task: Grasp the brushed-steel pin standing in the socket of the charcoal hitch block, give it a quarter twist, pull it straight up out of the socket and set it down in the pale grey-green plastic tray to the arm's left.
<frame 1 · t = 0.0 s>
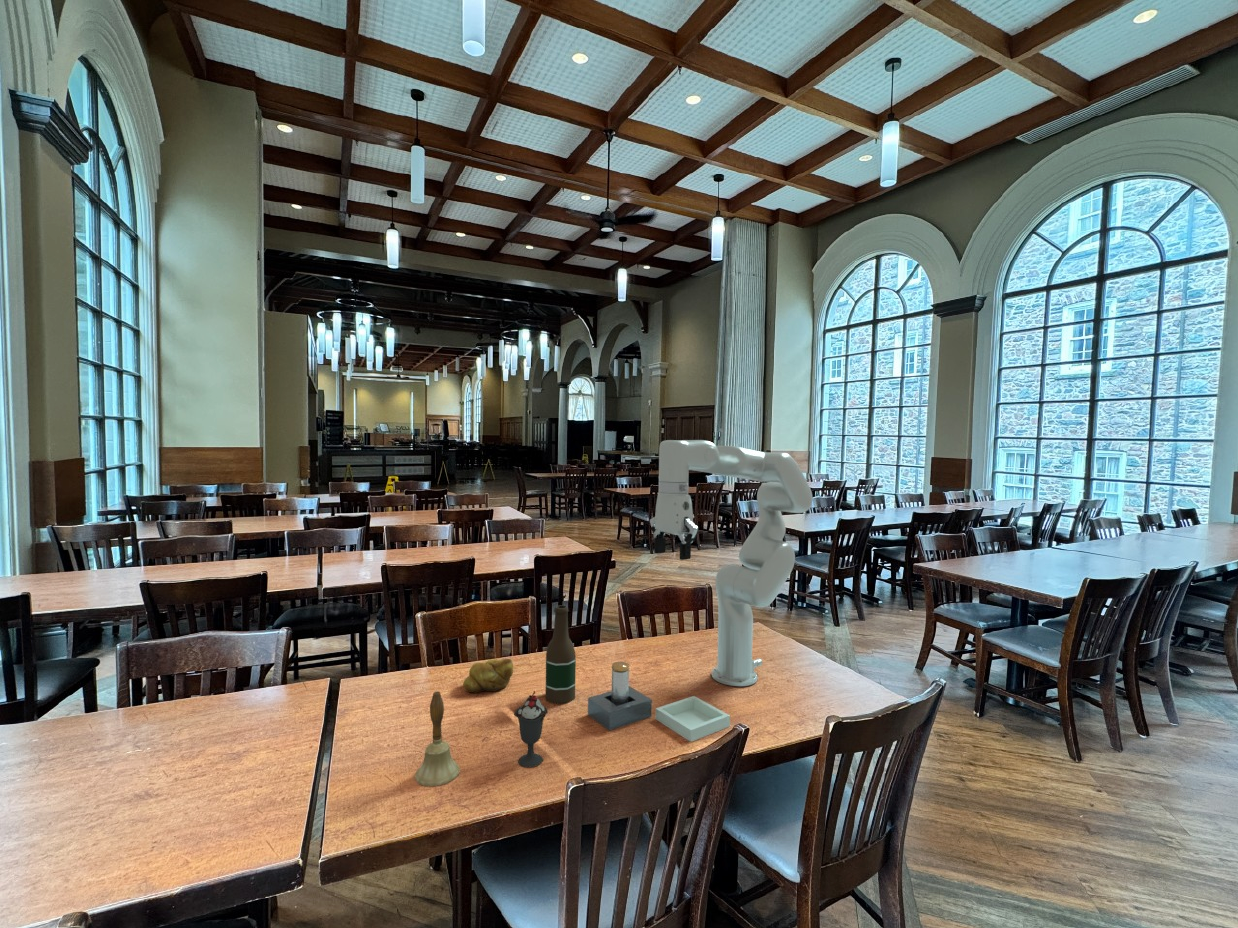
hand: (672, 555, 140), 37 cm above the table, tool pointing down, fingers open, 9 cm apart
hitch block: (619, 719, 130), on the table
tray: (692, 726, 127), on the table
beer bottle: (560, 701, 139), on the table
pin: (619, 715, 130), point 1 cm above the table, touching hitch block
hand bell: (437, 774, 107), on the table
bread roll: (487, 687, 147), on the table
sundae: (530, 761, 112), on the table
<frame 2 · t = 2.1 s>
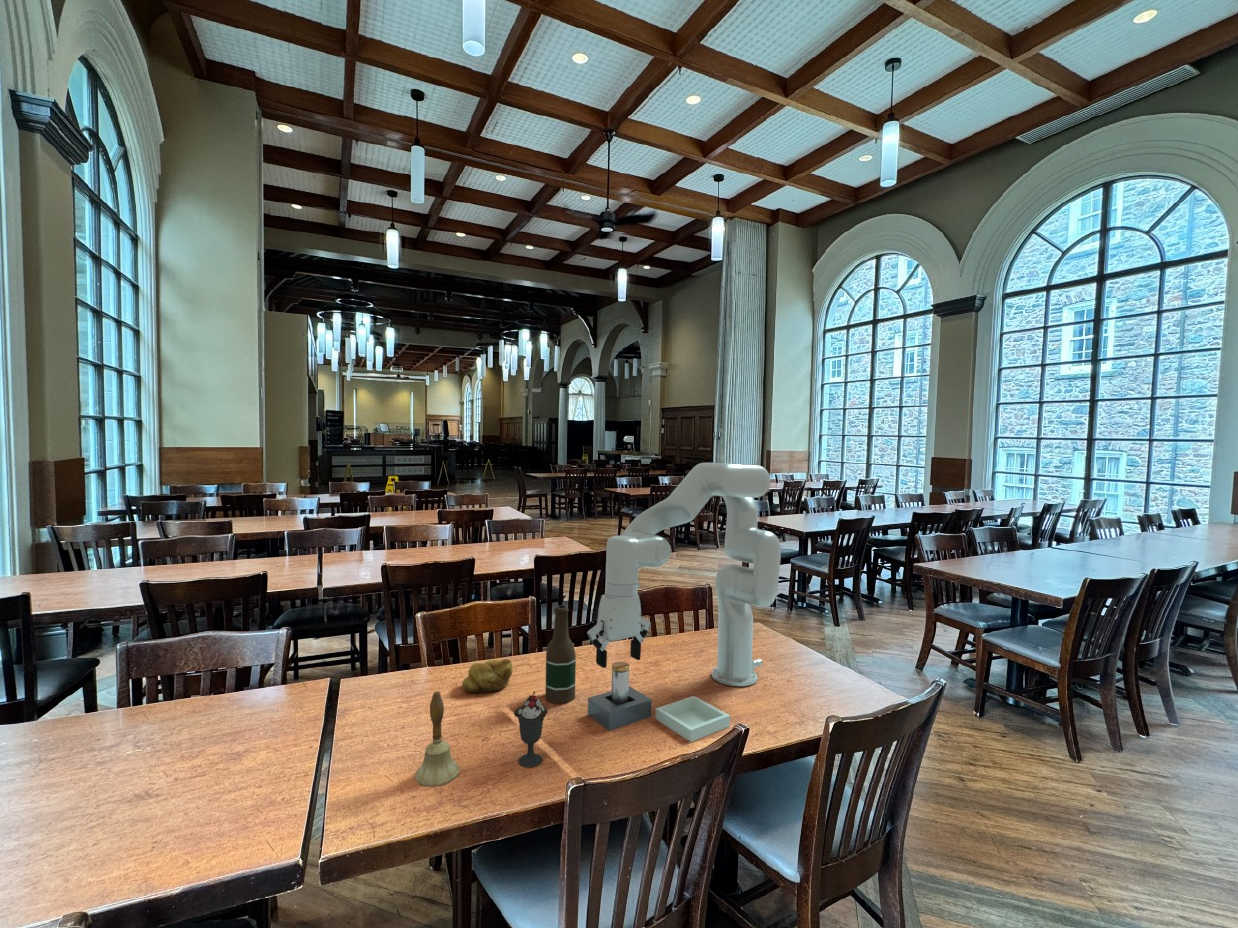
hand: (618, 661, 129), 14 cm above the table, tool pointing down, fingers open, 9 cm apart
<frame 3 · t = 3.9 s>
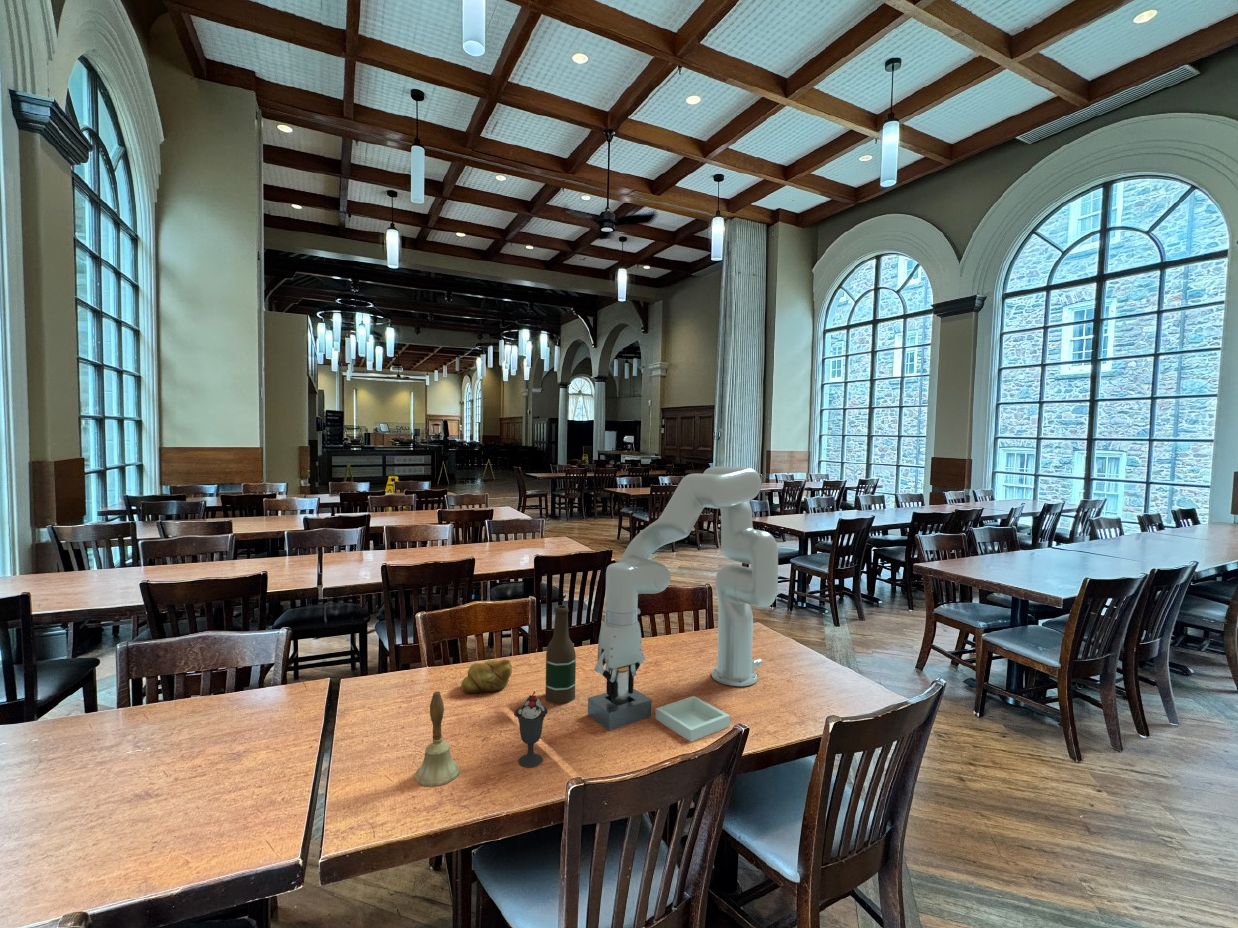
hand: (620, 693, 130), 6 cm above the table, tool pointing down, fingers closed on pin, 4 cm apart
pin: (619, 715, 130), point 1 cm above the table, touching gripper, hitch block
everything else where it was.
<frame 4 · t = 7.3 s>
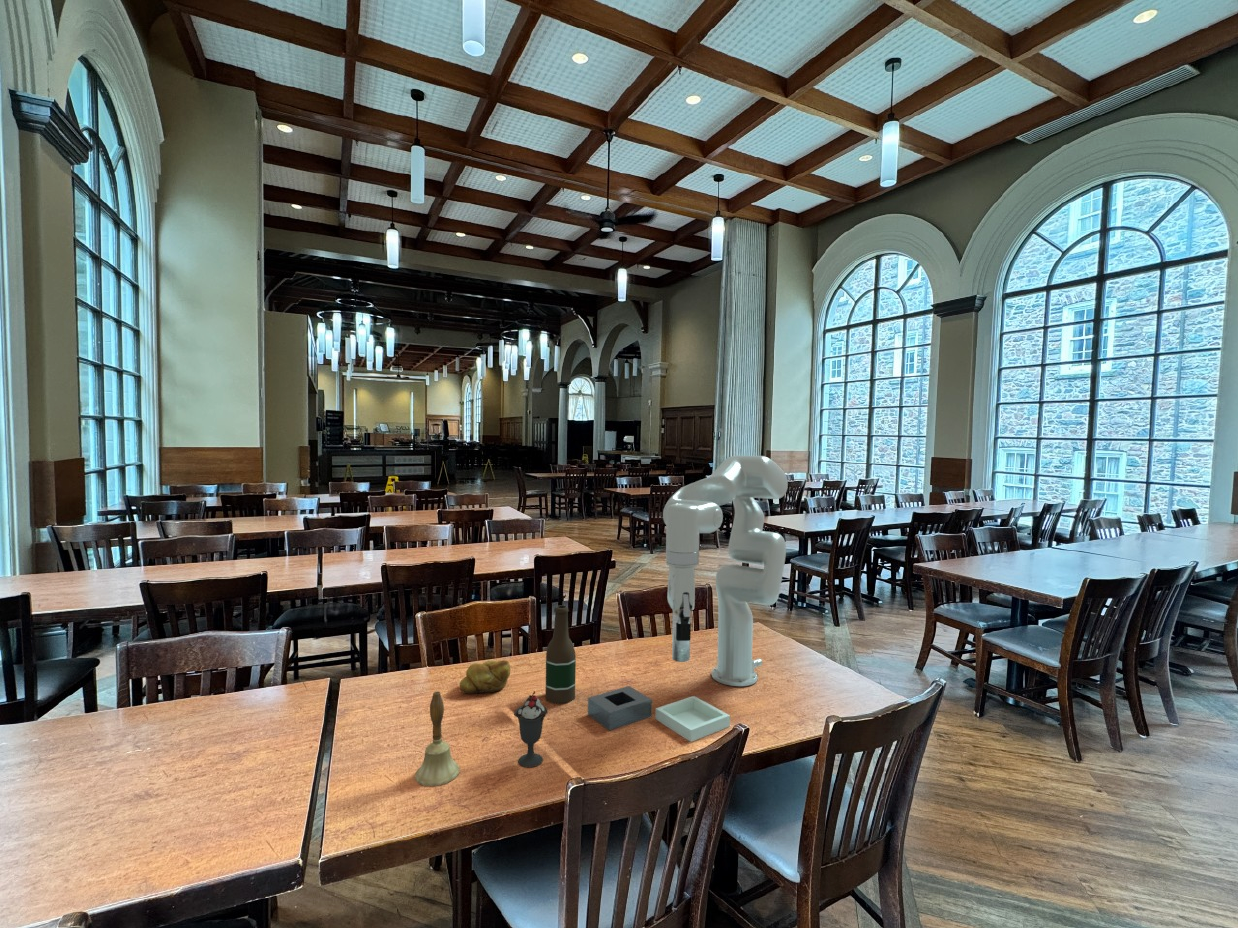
hand: (681, 635, 127), 21 cm above the table, tool pointing down, fingers closed on pin, 4 cm apart
pin: (680, 658, 127), point 16 cm above the table, touching gripper
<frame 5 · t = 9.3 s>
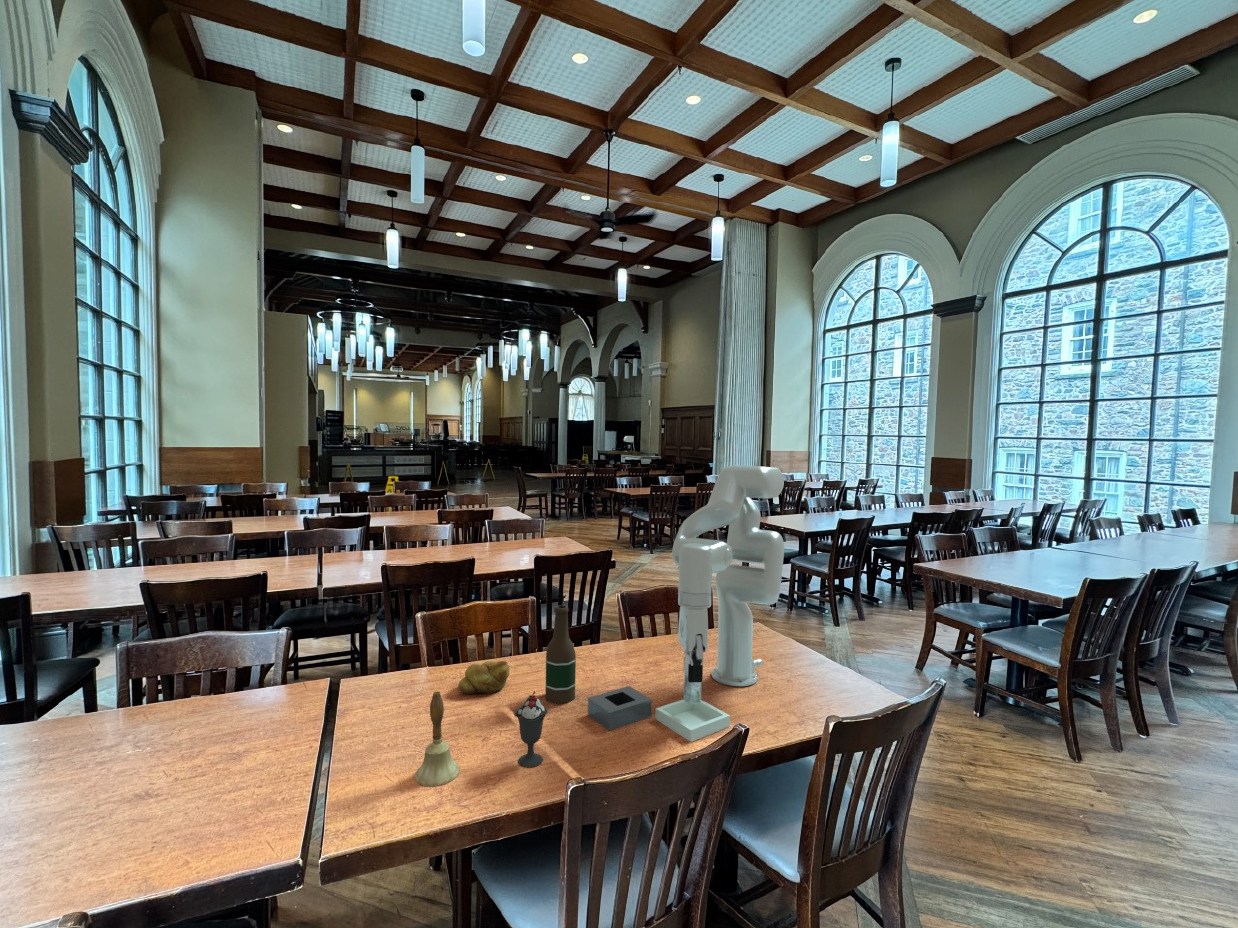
hand: (692, 676, 127), 12 cm above the table, tool pointing down, fingers closed on pin, 4 cm apart
pin: (692, 699, 127), point 6 cm above the table, touching gripper
when the fingers open (7 cm above the table, at t = 10.9 s): pin stays where it is, resting on tray.
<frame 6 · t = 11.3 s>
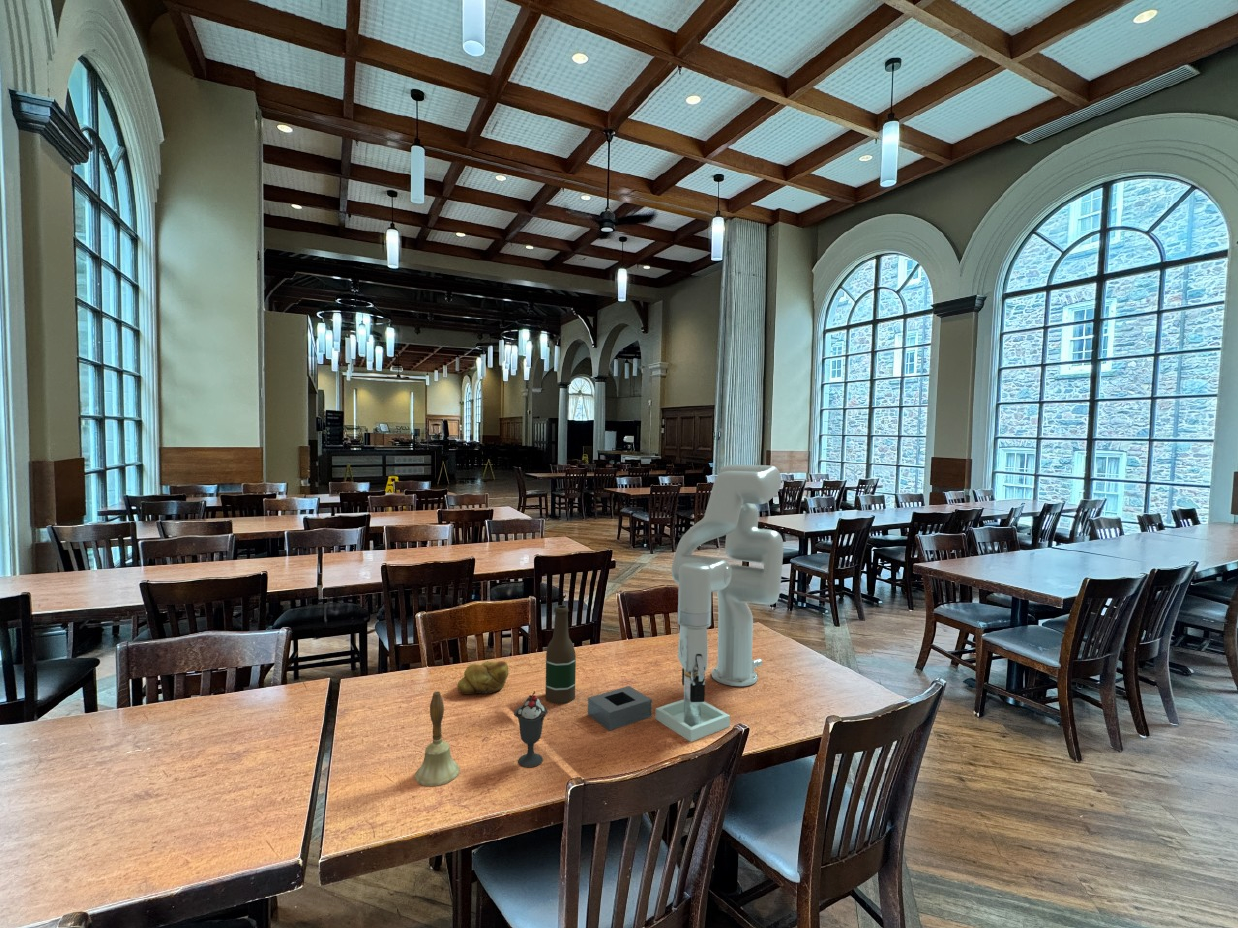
hand: (692, 692, 127), 8 cm above the table, tool pointing down, fingers open, 8 cm apart
pin: (692, 722, 127), point 1 cm above the table, touching tray
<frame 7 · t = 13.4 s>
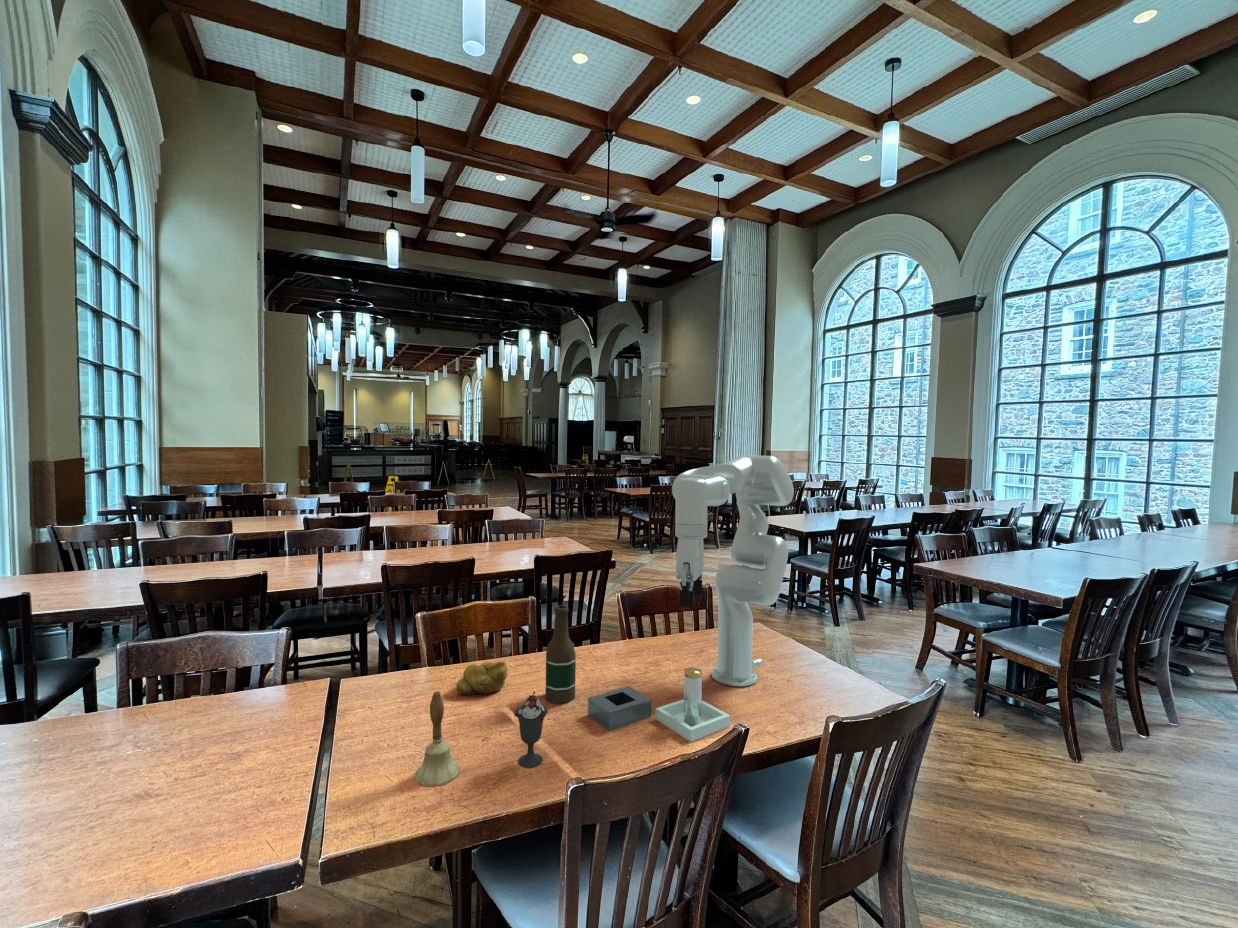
hand: (691, 600, 132), 28 cm above the table, tool pointing down, fingers open, 9 cm apart
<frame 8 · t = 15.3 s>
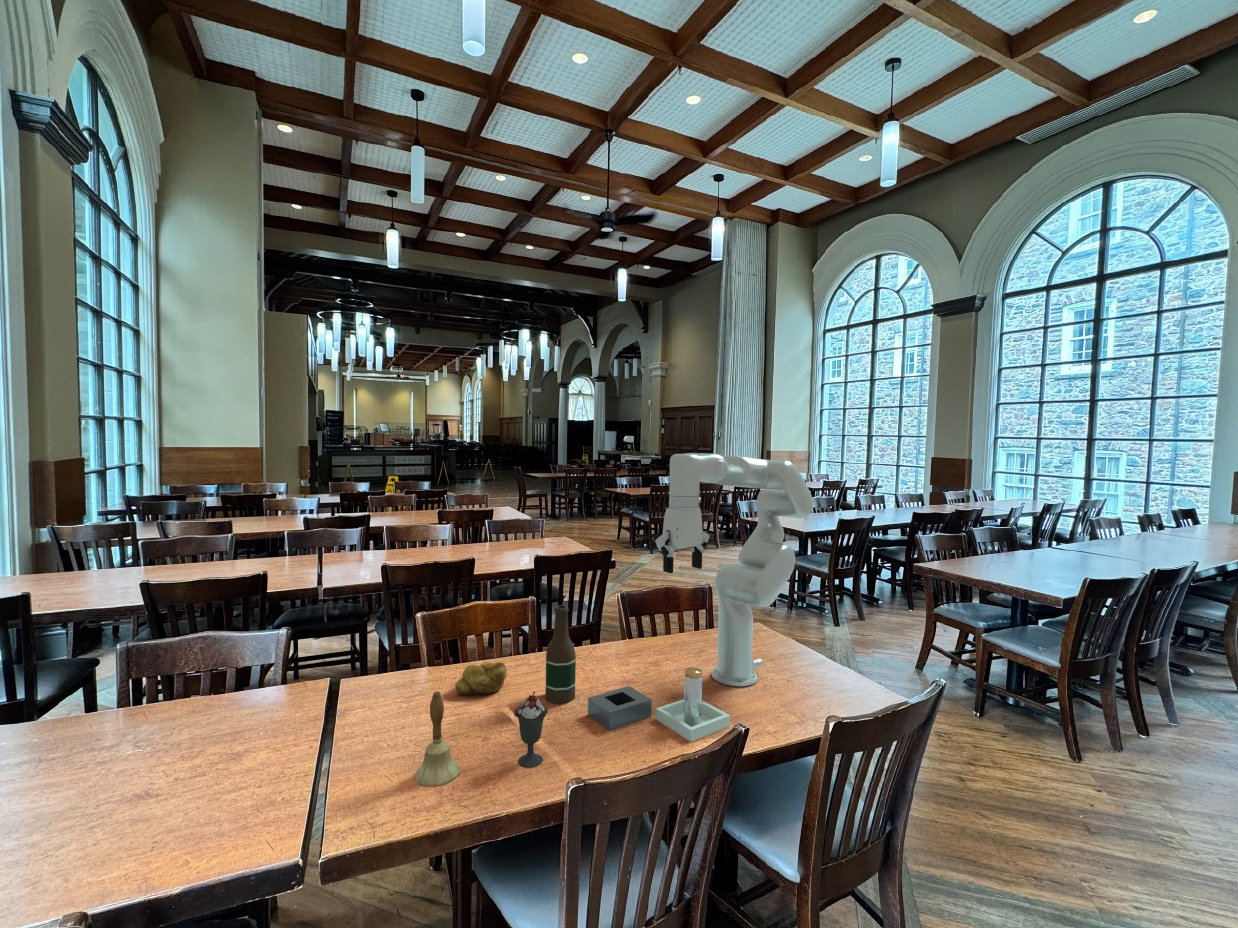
hand: (682, 569, 140), 33 cm above the table, tool pointing down, fingers open, 9 cm apart
at the end: pin inside the target area on the tray (0.1 cm from its centre), point 1.0 cm above the tray's base; the gripper is holding nothing; pin touching tray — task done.
